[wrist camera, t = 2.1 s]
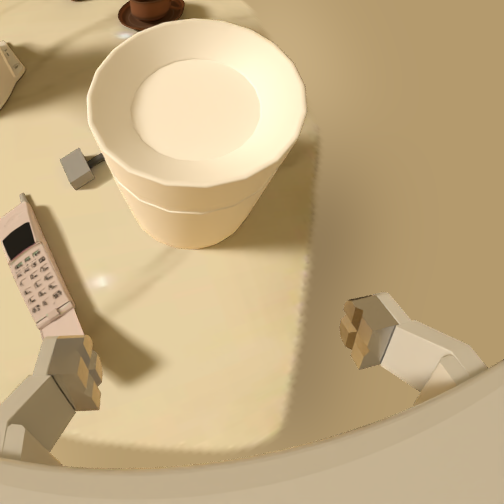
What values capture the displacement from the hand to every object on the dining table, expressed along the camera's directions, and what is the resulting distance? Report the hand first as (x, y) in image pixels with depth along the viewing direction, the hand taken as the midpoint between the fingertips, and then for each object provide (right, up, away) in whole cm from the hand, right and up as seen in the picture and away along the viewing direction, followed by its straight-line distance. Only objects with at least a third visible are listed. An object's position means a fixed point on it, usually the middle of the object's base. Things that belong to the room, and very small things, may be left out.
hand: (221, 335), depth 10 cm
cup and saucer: (-17, +45, +35) cm, 60 cm away
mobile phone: (-25, -1, +25) cm, 35 cm away
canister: (-7, +11, +30) cm, 33 cm away
